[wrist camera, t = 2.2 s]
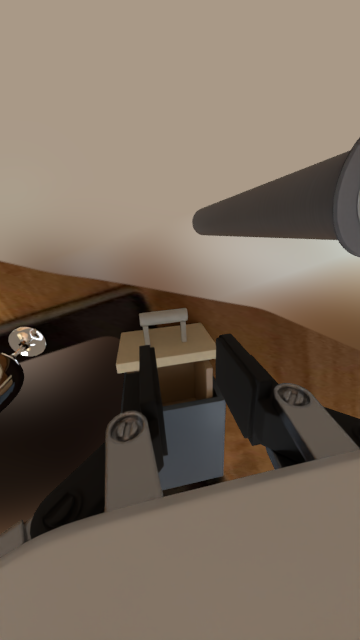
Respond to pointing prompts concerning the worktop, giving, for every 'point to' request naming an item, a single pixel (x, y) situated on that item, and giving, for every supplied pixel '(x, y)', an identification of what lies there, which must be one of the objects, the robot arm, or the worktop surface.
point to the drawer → (172, 355)
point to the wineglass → (6, 373)
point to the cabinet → (193, 440)
